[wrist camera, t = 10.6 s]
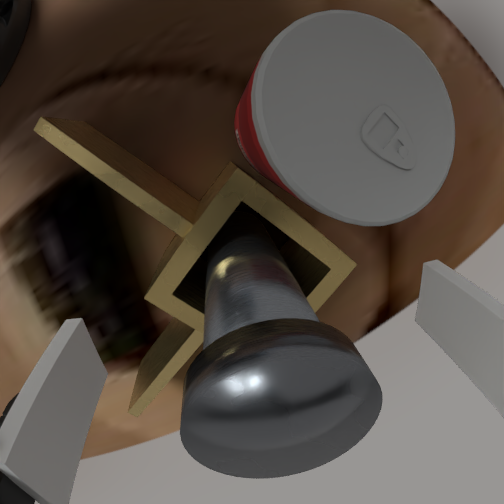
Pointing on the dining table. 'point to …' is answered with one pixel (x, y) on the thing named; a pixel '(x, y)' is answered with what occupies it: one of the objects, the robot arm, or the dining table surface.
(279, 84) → the canned food
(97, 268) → the dining table surface
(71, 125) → the hinge
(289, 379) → the pin
